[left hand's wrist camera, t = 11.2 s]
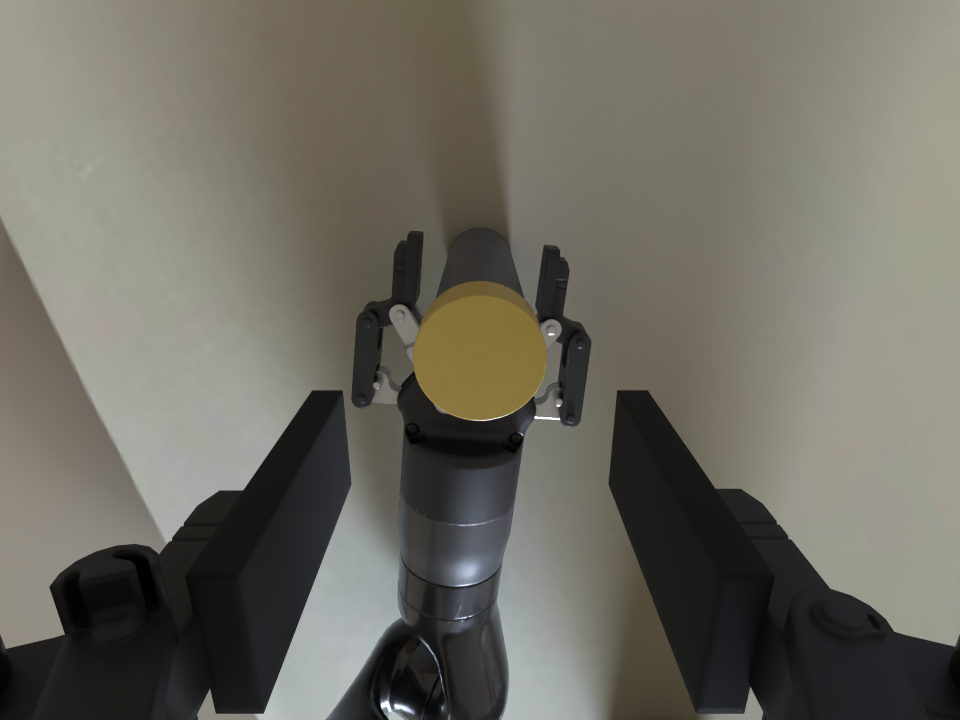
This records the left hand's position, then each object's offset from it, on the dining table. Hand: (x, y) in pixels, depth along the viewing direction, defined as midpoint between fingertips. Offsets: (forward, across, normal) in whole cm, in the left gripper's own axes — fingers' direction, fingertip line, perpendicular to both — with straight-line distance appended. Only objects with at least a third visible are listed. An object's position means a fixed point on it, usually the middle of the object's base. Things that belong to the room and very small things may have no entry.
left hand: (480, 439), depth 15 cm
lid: (+6, 0, 0) cm, 6 cm away
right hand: (+19, 0, -2) cm, 19 cm away
